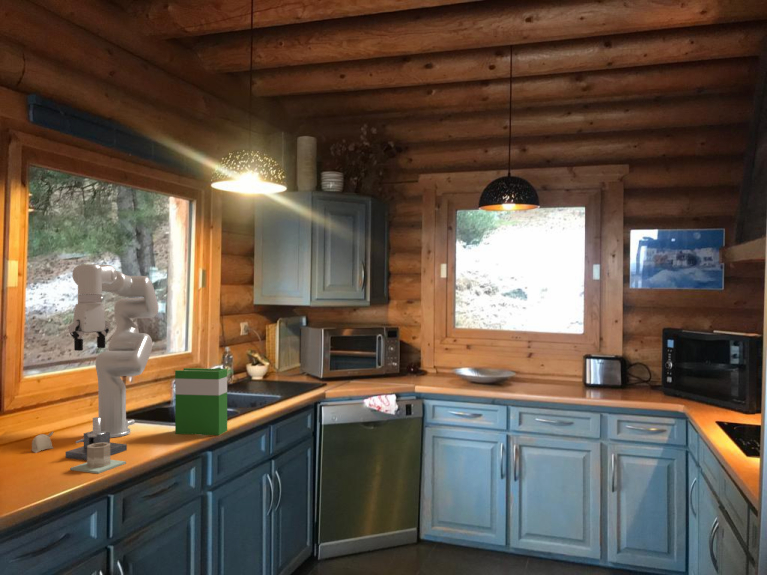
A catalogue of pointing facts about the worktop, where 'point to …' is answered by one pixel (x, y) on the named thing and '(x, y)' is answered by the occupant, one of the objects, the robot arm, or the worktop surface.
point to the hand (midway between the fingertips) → (90, 349)
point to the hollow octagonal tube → (98, 455)
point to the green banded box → (201, 401)
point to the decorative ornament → (41, 442)
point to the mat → (99, 469)
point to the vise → (95, 437)
